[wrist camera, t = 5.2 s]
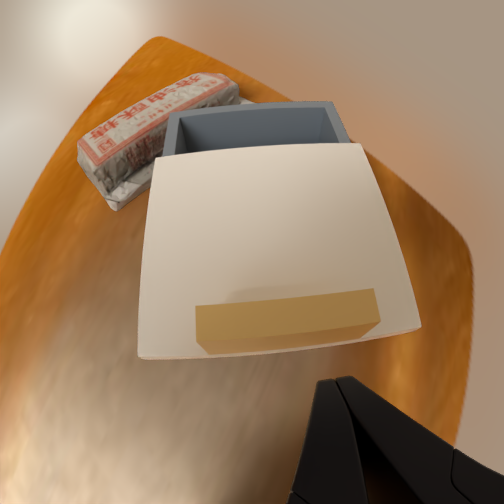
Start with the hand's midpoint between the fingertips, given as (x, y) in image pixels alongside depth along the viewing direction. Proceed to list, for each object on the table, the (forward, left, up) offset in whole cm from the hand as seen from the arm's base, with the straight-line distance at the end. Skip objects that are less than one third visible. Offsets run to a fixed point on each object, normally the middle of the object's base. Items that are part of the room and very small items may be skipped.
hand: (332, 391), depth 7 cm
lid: (+7, +1, -5) cm, 9 cm away
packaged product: (+25, +9, -13) cm, 30 cm away
